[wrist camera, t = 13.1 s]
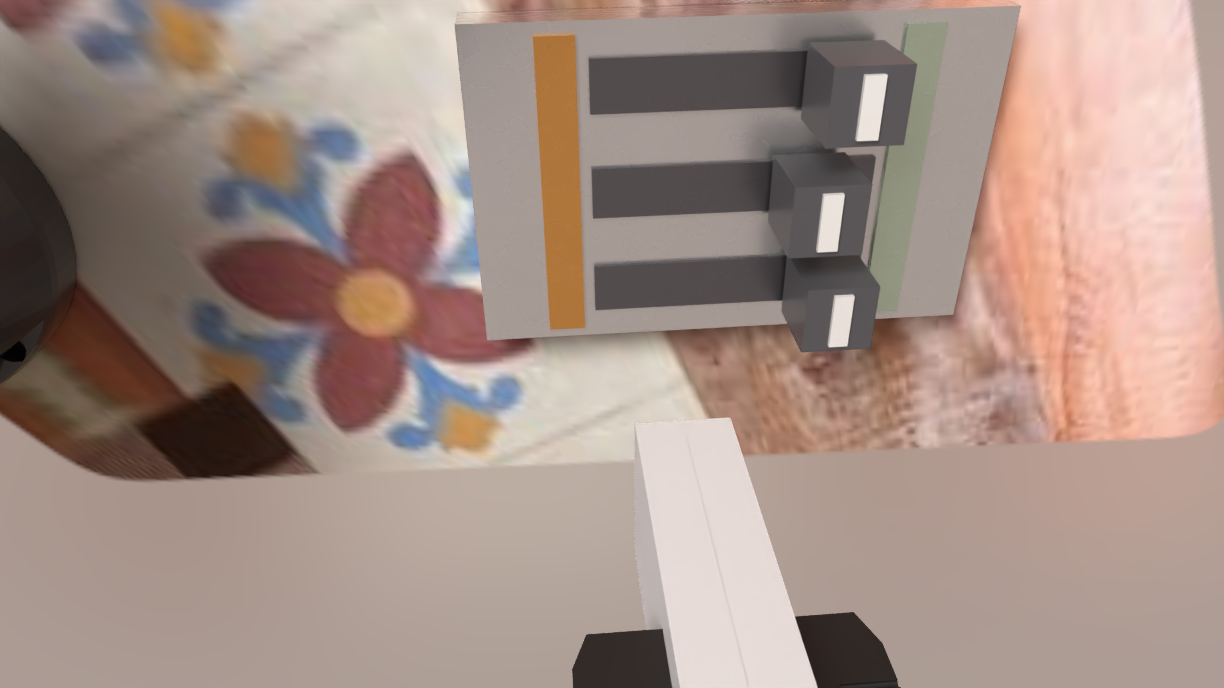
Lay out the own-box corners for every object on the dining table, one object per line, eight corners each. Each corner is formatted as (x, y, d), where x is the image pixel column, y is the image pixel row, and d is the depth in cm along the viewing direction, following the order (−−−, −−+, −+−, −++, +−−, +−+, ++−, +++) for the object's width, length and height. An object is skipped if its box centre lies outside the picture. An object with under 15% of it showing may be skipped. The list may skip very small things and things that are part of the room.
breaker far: (781, 311, 41) (802, 354, 38) (787, 252, 39) (809, 292, 36) (845, 307, 41) (871, 351, 38) (853, 248, 40) (881, 288, 37)
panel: (488, 318, 43) (487, 342, 41) (457, 12, 35) (454, 25, 34) (936, 294, 44) (955, 316, 42) (998, -5, 37) (1023, 6, 35)
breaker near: (800, 118, 36) (826, 150, 33) (808, 42, 35) (836, 68, 32) (873, 115, 36) (905, 147, 33) (884, 39, 35) (919, 65, 32)
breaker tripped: (767, 222, 39) (789, 260, 35) (773, 155, 37) (796, 189, 34) (836, 218, 39) (863, 257, 36) (844, 152, 37) (874, 186, 34)
